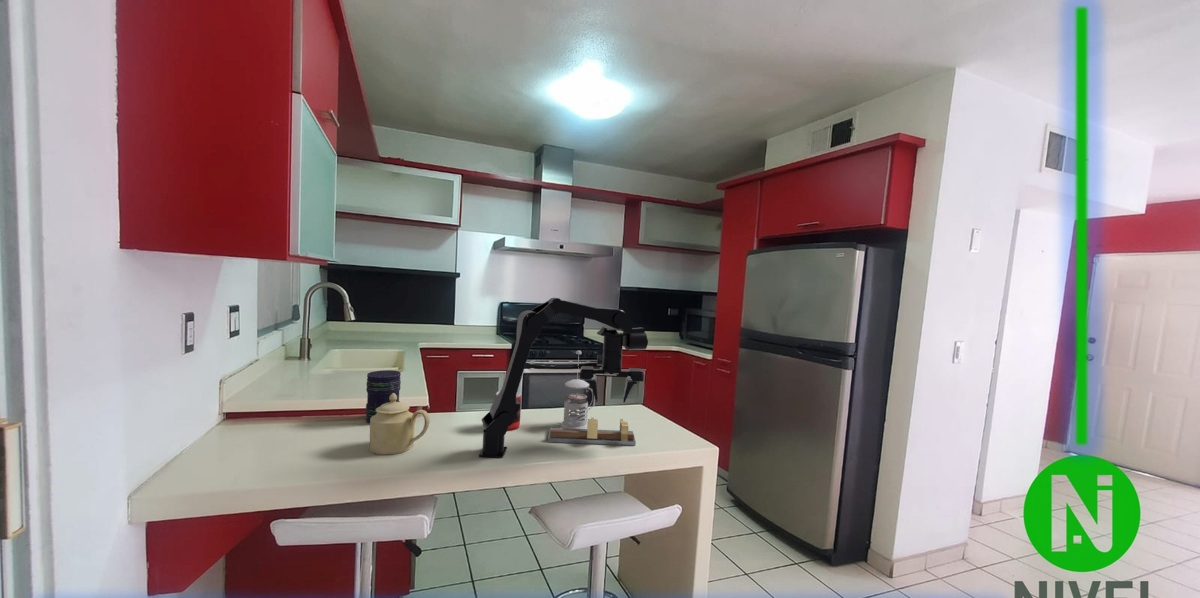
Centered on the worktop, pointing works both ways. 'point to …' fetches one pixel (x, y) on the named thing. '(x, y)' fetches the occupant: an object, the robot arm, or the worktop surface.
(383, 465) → the worktop surface
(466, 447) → the worktop surface
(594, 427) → the slider
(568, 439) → the plate
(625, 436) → the beam
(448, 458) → the worktop surface
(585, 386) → the french press
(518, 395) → the canned food
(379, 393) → the storage jar
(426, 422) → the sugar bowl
